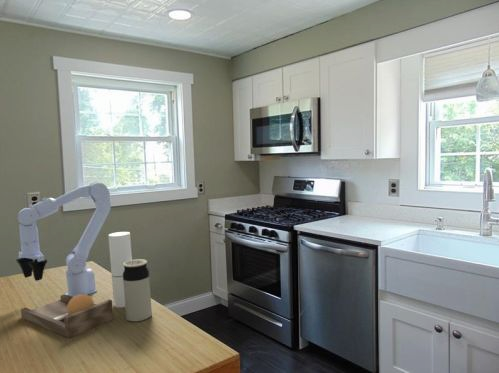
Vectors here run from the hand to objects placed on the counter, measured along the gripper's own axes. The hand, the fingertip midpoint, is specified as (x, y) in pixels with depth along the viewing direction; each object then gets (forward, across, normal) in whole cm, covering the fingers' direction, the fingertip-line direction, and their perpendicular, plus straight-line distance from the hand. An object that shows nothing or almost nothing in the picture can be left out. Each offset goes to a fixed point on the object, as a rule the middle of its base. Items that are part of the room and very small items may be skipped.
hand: (33, 278), depth 138 cm
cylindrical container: (+10, +30, +16) cm, 35 cm away
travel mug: (+10, +44, +11) cm, 46 cm away
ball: (+5, +29, 0) cm, 29 cm away
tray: (+9, +23, -1) cm, 25 cm away
